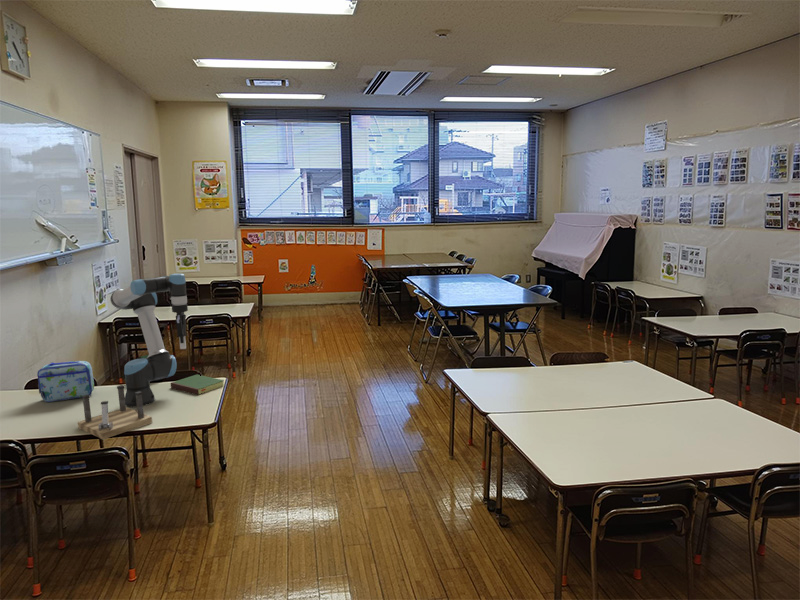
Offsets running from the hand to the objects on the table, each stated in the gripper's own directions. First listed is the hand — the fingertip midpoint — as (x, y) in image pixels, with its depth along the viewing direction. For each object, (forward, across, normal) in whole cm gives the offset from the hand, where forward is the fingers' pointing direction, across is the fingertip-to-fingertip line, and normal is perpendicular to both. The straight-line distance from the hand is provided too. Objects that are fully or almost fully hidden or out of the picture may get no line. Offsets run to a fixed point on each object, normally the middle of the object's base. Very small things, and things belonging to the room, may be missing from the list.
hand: (183, 348), depth 287 cm
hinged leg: (+23, +28, -30) cm, 47 cm away
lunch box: (+33, -30, -71) cm, 83 cm away
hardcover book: (+33, -35, -2) cm, 48 cm away
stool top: (+32, +18, -30) cm, 48 cm away
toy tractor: (+33, -54, -36) cm, 73 cm away
